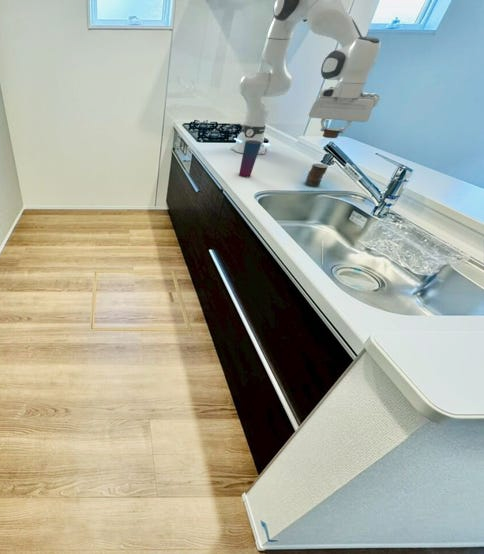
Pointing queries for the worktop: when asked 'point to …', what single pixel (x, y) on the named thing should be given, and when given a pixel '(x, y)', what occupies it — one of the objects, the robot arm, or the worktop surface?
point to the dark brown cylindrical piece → (315, 175)
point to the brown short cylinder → (331, 133)
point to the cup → (249, 157)
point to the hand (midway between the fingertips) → (331, 132)
